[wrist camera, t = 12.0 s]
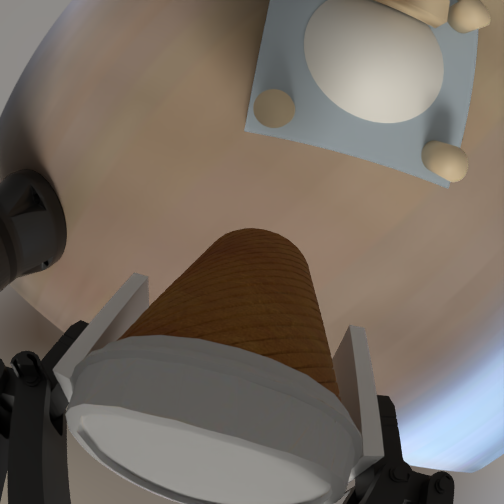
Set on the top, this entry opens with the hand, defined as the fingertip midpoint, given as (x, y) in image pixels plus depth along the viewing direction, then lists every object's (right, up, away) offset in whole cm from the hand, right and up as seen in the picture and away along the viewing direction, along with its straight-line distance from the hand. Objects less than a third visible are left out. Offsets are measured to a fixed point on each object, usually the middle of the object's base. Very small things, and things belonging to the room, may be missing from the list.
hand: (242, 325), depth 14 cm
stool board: (+11, +21, +7) cm, 25 cm away
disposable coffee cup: (+1, +2, +4) cm, 4 cm away
